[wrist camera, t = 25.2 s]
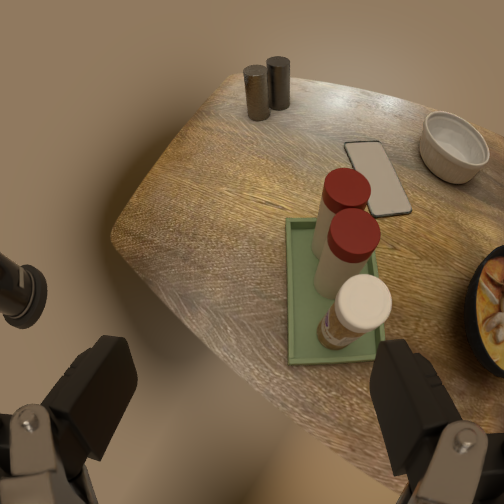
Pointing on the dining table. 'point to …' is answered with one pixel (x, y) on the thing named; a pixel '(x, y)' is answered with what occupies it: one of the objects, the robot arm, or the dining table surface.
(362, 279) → the sprinkles bottle
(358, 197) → the spice bottle
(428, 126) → the ramekin
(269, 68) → the grey tin
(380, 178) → the smartphone
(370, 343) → the tray
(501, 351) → the bowl
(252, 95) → the grey tin
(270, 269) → the dining table surface
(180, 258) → the dining table surface
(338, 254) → the spice bottle
